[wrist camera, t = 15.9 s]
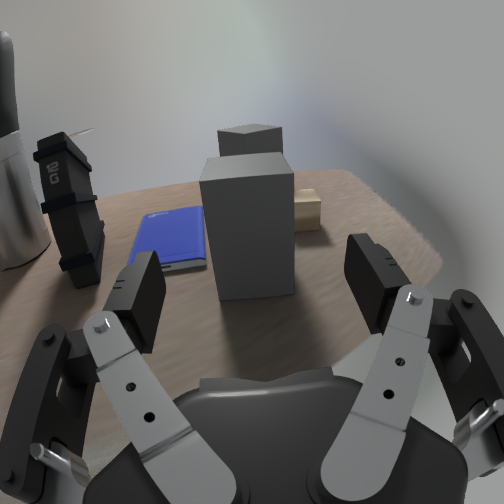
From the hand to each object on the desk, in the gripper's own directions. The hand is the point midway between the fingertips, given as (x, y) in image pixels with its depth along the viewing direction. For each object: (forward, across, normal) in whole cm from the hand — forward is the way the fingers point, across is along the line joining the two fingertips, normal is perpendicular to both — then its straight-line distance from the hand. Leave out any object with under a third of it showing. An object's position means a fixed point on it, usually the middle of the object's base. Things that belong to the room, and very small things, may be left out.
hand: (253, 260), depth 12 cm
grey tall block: (+28, -1, +9) cm, 30 cm away
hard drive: (+19, +9, +10) cm, 23 cm away
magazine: (+17, +19, +10) cm, 27 cm away
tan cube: (+20, -6, +9) cm, 23 cm away
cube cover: (+11, 0, +9) cm, 14 cm away
